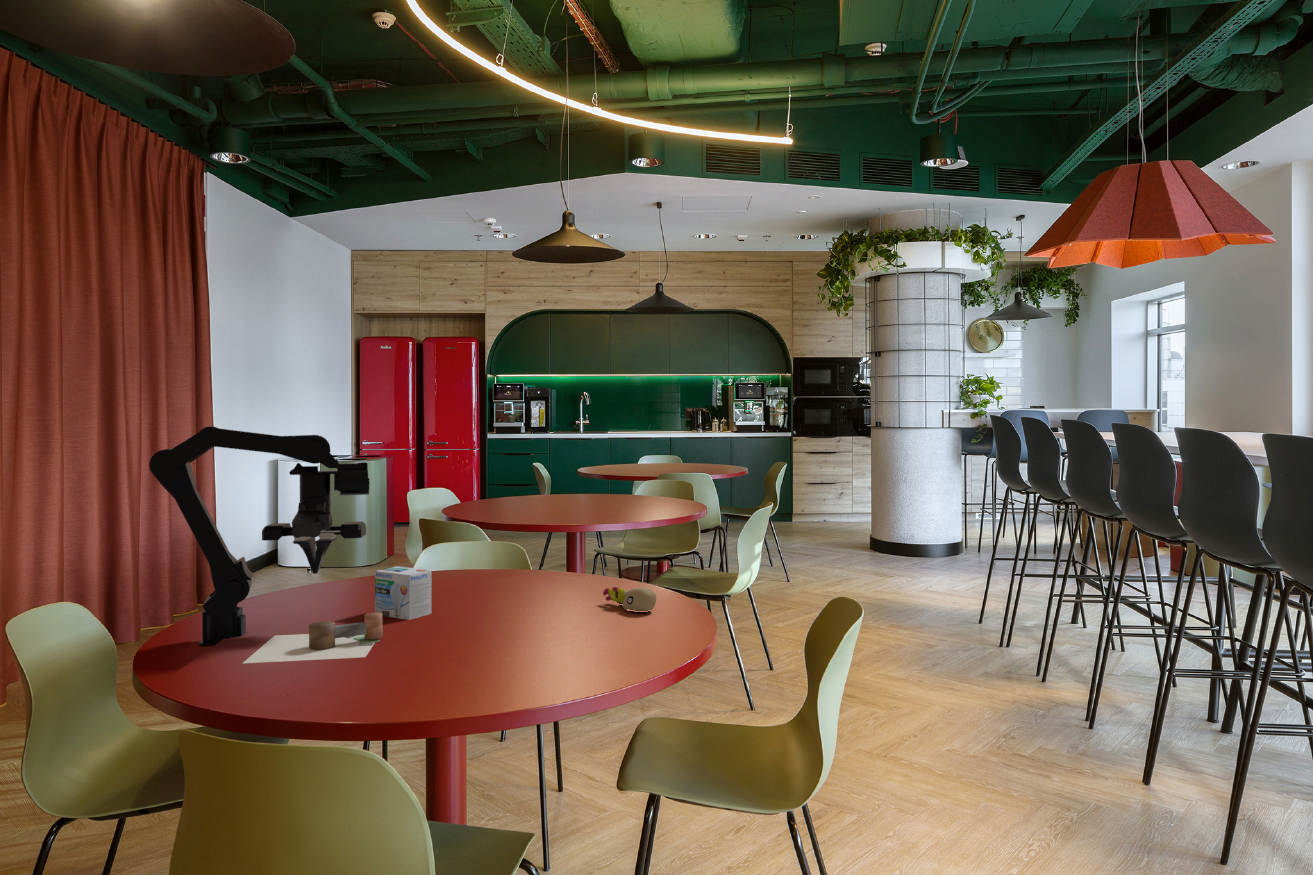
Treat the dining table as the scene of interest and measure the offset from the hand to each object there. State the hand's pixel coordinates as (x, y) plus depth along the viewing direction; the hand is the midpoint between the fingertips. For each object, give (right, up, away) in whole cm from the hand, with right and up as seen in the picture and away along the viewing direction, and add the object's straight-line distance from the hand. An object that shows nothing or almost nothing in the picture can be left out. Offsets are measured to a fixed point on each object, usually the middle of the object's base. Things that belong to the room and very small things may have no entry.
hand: (315, 573), depth 156 cm
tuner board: (+7, -12, -14) cm, 20 cm away
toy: (+63, -12, +21) cm, 67 cm away
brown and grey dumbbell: (+11, -11, -13) cm, 20 cm away
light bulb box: (+14, -12, +11) cm, 22 cm away
